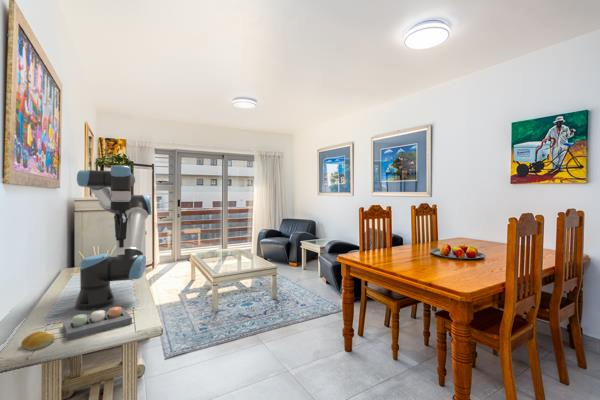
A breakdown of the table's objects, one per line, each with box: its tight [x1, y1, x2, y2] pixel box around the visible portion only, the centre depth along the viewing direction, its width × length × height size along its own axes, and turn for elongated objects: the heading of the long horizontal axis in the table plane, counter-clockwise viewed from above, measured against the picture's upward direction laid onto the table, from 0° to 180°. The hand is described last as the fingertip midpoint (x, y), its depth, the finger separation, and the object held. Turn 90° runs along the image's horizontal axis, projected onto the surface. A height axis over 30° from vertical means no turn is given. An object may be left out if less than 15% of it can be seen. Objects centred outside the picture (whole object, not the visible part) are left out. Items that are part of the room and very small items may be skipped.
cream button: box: [90, 309, 106, 324], centre depth 121 cm, size 4×4×4 cm
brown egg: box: [108, 306, 122, 319], centre depth 125 cm, size 4×4×4 cm
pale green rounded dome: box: [72, 313, 88, 328], centre depth 117 cm, size 4×4×4 cm
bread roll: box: [21, 330, 55, 351], centre depth 106 cm, size 8×9×4 cm
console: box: [62, 307, 133, 341], centre depth 121 cm, size 14×21×2 cm, turn 134°
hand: (120, 254), depth 132 cm, fingers closed
